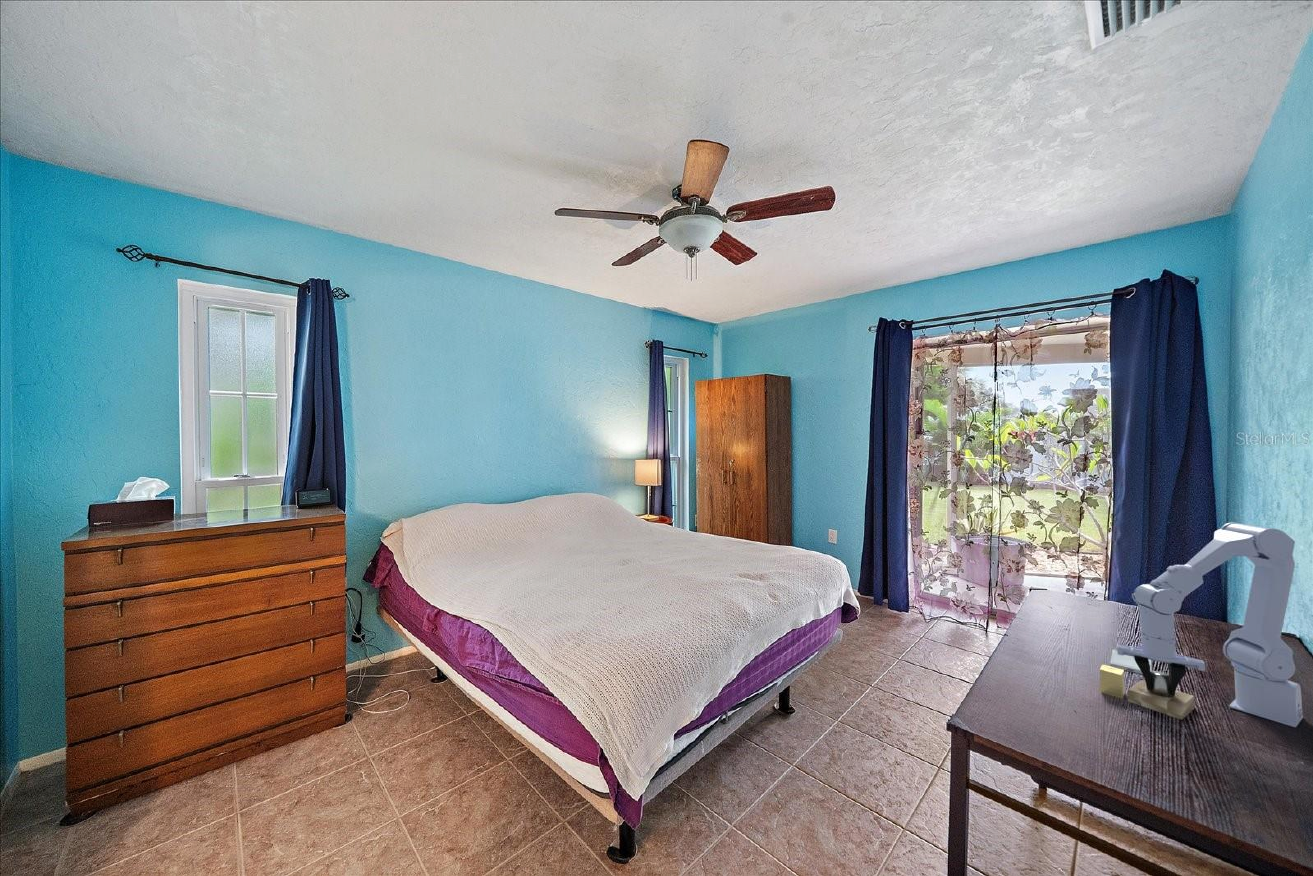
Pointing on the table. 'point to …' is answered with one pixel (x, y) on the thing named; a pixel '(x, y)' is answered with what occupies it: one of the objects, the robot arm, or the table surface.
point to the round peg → (1160, 684)
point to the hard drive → (1125, 662)
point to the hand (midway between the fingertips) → (1160, 691)
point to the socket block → (1161, 701)
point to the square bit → (1112, 681)
